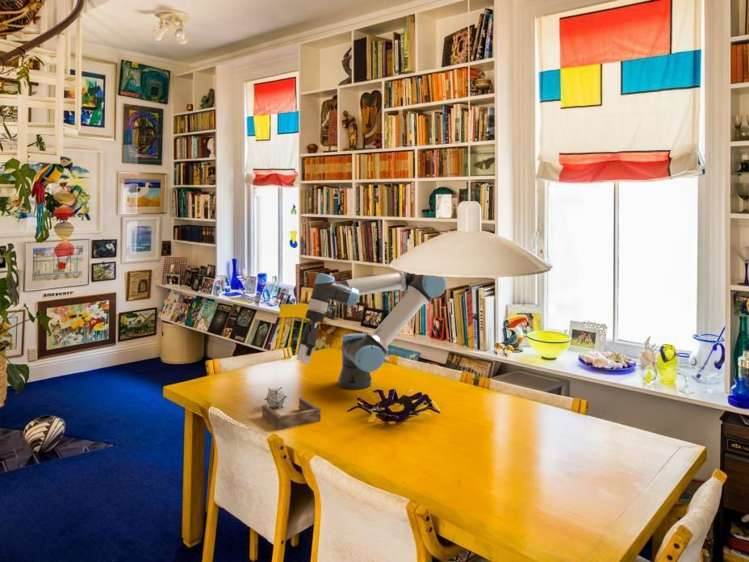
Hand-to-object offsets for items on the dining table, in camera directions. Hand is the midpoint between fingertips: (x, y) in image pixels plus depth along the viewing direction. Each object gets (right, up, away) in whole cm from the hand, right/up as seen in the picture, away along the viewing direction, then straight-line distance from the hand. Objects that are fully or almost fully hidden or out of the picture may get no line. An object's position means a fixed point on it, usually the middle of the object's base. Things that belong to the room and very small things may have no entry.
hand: (302, 362), depth 240 cm
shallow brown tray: (-3, -19, -15) cm, 24 cm away
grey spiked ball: (-10, -18, -3) cm, 21 cm away
